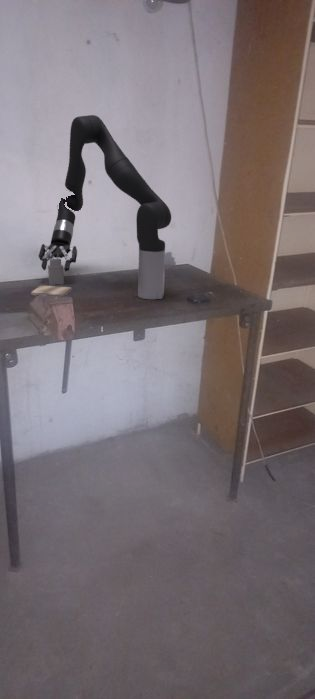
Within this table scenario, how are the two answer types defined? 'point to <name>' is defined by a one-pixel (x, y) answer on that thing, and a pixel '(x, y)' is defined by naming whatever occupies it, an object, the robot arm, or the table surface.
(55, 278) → the power adapter
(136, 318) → the table surface
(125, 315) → the table surface
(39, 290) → the birch board
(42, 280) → the table surface
